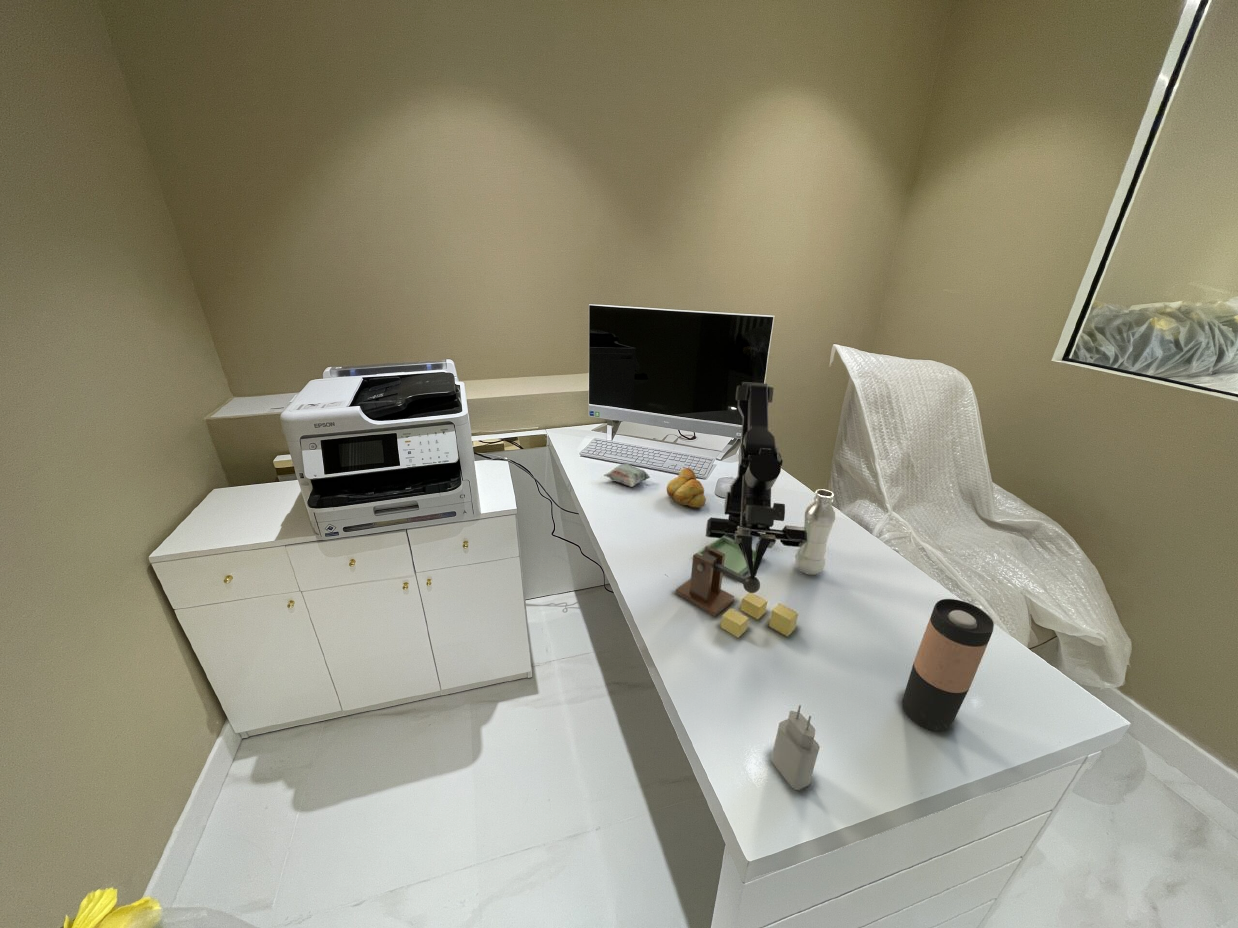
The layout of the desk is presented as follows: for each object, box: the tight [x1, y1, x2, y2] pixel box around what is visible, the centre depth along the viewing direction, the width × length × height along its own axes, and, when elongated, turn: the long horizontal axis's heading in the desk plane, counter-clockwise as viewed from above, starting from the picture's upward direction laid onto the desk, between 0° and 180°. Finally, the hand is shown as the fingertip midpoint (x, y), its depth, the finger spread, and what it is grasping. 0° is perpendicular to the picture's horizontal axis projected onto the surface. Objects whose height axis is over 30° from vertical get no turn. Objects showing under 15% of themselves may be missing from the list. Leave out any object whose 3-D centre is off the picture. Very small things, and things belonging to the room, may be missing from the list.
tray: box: [696, 535, 755, 576], centre depth 119 cm, size 11×11×2 cm
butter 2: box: [740, 592, 768, 620], centre depth 102 cm, size 3×4×3 cm
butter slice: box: [768, 603, 799, 637], centre depth 98 cm, size 3×4×4 cm
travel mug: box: [901, 598, 995, 732], centre depth 77 cm, size 8×8×20 cm
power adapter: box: [770, 704, 821, 791], centre depth 69 cm, size 3×5×12 cm, turn 25°
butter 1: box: [720, 607, 749, 638], centre depth 97 cm, size 3×4×3 cm
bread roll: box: [666, 467, 707, 508], centre depth 144 cm, size 13×10×8 cm
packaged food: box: [603, 463, 651, 488], centre depth 154 cm, size 9×12×5 cm
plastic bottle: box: [794, 488, 836, 576], centre depth 112 cm, size 6×7×20 cm
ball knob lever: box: [702, 552, 761, 594], centre depth 99 cm, size 13×3×3 cm, turn 46°
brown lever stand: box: [675, 545, 735, 617], centre depth 104 cm, size 10×7×11 cm
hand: (752, 576), depth 96 cm, fingers closed
